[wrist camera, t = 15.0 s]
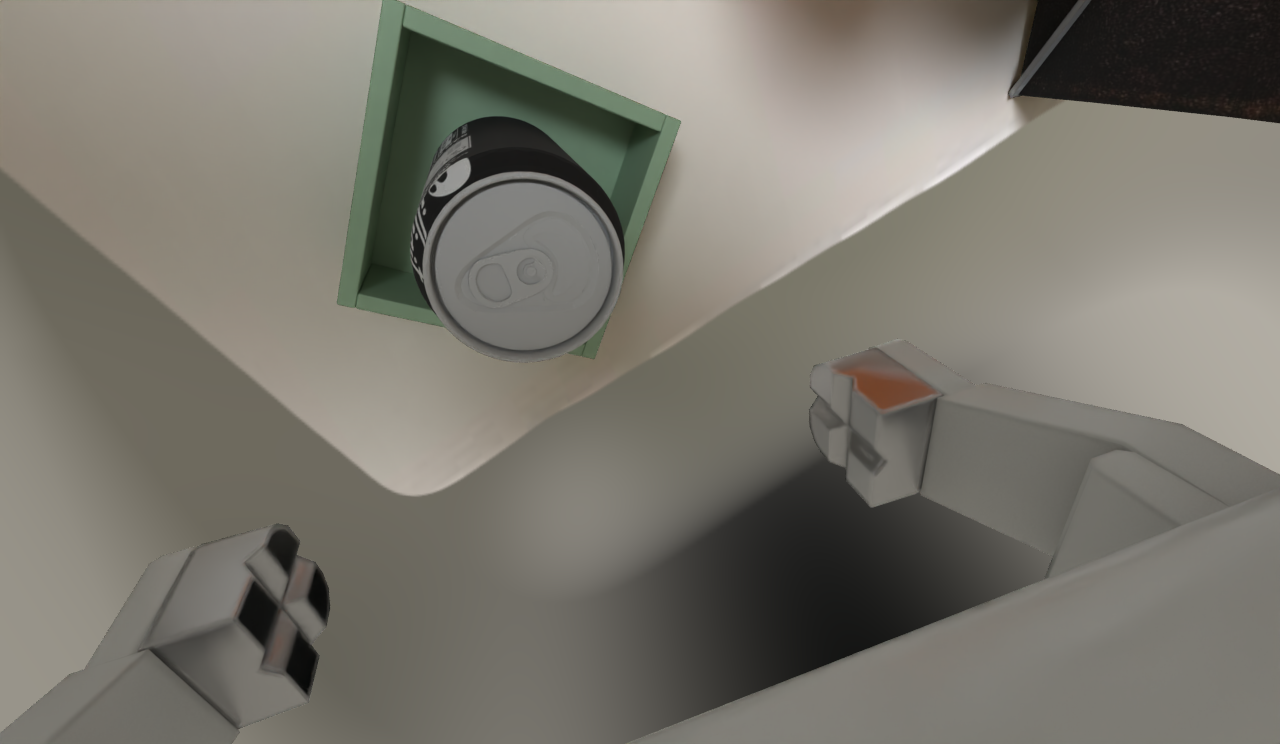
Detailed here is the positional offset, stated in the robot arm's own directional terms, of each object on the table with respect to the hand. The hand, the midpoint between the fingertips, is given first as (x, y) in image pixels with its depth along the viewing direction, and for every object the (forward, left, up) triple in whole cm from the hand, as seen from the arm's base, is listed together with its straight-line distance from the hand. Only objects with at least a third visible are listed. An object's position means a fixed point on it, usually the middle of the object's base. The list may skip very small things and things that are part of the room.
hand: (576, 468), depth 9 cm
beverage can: (0, 0, -21) cm, 21 cm away
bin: (0, 0, -21) cm, 21 cm away
